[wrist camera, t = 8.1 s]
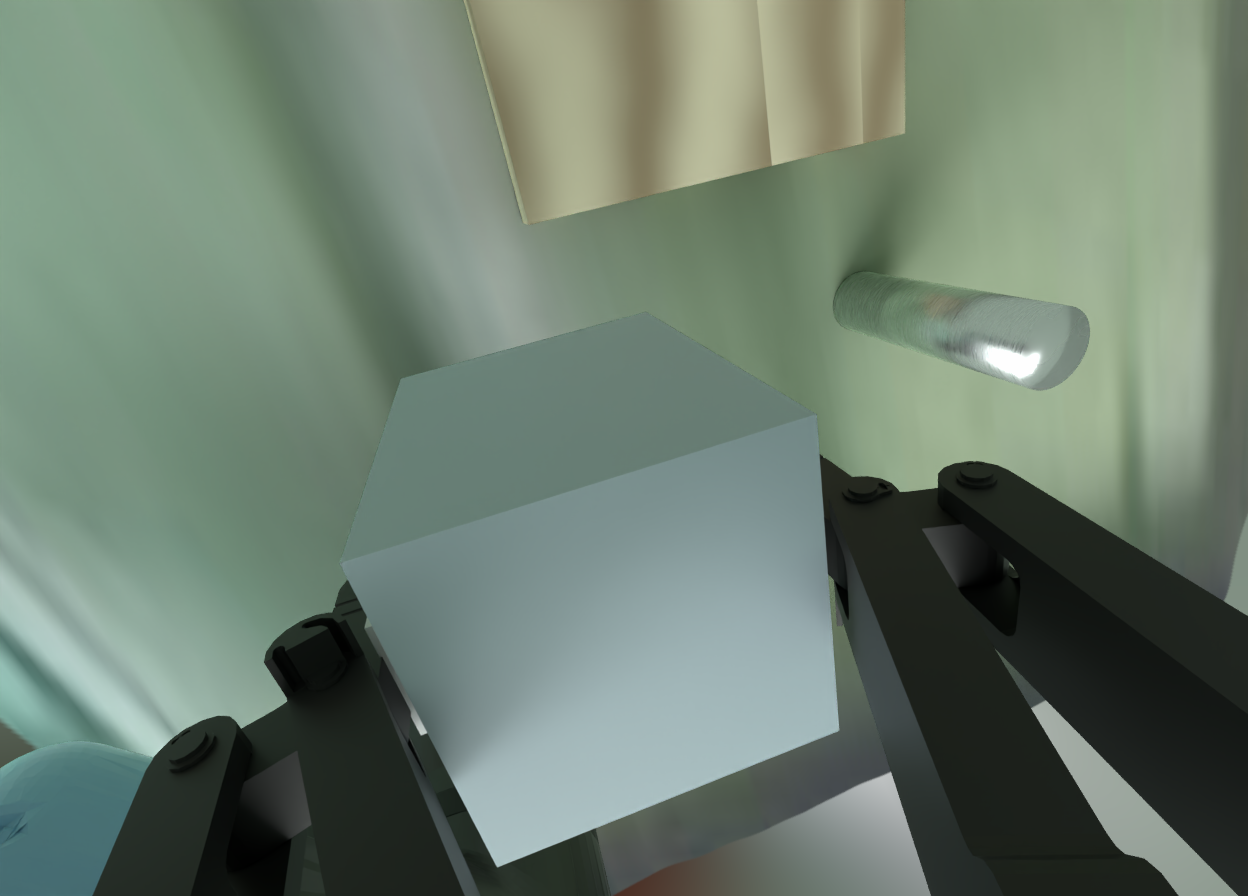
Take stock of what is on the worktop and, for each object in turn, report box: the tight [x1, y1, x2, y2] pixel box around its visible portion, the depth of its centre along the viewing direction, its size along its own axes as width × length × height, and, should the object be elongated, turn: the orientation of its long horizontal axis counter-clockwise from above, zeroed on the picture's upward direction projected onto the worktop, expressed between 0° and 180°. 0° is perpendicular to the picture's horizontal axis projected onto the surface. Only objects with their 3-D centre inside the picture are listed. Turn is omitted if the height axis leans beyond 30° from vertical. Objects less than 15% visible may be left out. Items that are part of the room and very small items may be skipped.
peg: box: [833, 271, 1090, 390], centre depth 27 cm, size 3×3×12 cm
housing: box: [339, 312, 839, 867], centre depth 14 cm, size 7×7×9 cm
